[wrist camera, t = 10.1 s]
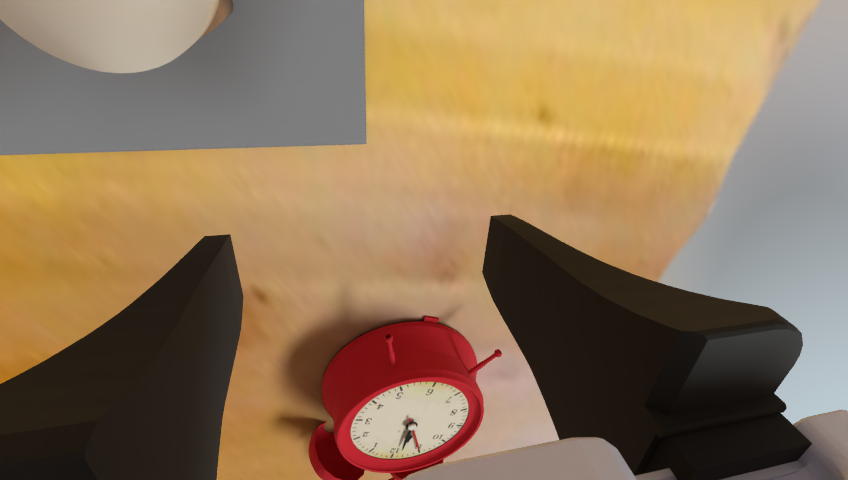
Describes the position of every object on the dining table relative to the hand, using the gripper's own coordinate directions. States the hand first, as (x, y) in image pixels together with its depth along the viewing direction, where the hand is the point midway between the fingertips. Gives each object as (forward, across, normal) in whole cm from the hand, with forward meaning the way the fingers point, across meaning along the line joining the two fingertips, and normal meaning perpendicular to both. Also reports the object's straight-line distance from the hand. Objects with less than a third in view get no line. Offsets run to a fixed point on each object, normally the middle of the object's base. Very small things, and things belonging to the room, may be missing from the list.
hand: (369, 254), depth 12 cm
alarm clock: (+10, -3, +18) cm, 21 cm away
